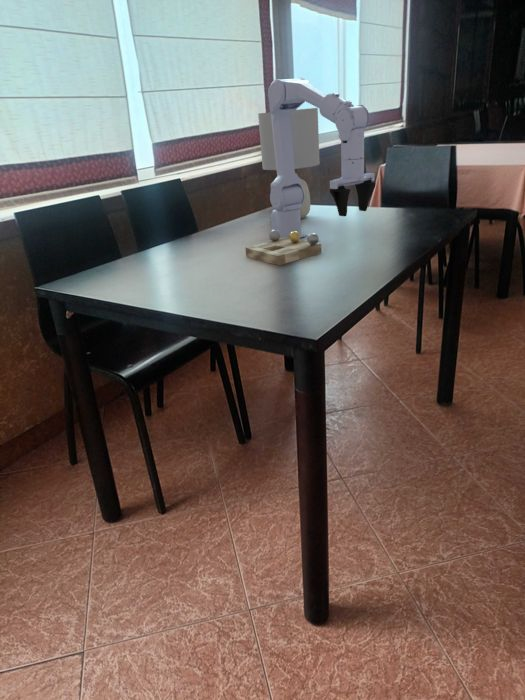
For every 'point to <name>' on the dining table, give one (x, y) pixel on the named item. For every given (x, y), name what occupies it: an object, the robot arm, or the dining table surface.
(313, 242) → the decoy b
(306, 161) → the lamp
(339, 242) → the dining table surface
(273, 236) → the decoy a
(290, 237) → the ball
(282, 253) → the plate
